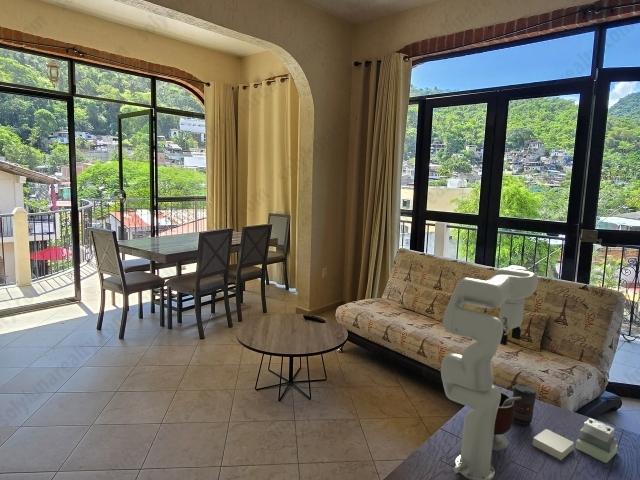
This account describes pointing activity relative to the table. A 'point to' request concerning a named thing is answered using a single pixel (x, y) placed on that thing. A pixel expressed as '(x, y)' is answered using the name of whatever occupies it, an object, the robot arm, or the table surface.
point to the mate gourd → (503, 421)
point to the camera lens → (523, 404)
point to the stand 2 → (595, 451)
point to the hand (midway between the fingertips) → (509, 341)
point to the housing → (598, 435)
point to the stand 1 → (553, 444)
